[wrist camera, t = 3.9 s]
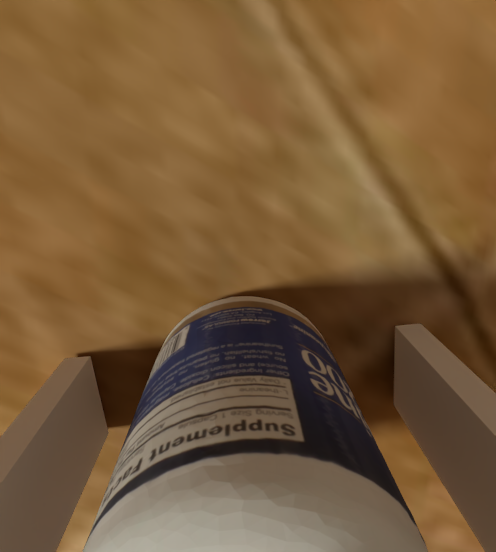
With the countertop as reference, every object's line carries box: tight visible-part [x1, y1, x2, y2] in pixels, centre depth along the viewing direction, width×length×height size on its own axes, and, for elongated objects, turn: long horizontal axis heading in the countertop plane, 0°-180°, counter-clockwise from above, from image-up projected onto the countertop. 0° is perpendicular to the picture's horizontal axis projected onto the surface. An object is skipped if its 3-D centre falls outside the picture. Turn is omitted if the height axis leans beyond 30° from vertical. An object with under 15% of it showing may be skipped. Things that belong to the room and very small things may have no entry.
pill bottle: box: [83, 296, 428, 552], centre depth 8 cm, size 5×5×10 cm
